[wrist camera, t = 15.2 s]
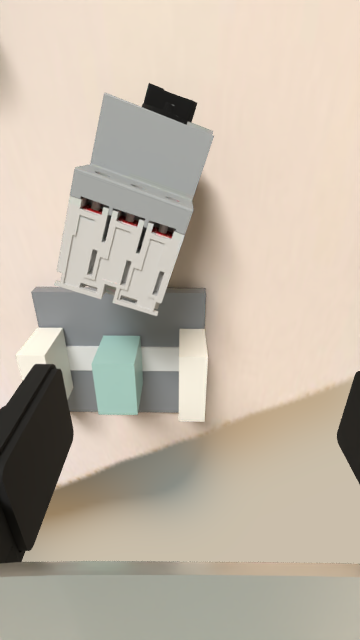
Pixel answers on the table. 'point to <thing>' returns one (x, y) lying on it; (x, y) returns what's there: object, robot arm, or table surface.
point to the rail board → (115, 320)
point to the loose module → (118, 375)
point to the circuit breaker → (133, 200)
